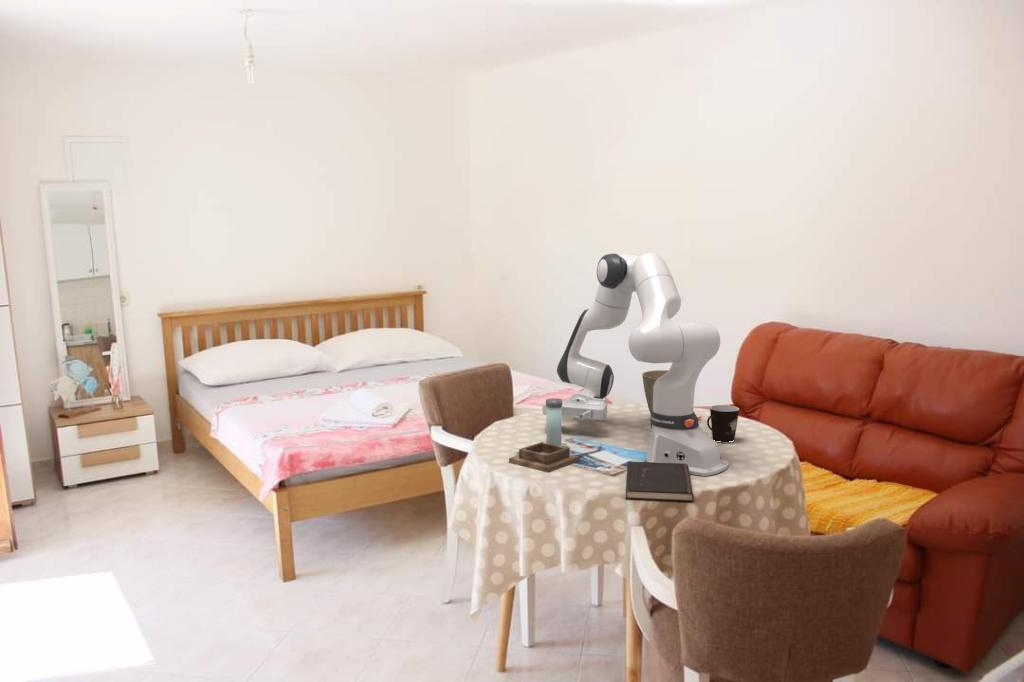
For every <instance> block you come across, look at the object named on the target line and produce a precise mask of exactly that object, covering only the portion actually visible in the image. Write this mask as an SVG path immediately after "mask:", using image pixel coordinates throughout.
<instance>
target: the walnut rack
mask: <svg viewBox="0 0 1024 682" xmlns="http://www.w3.org/2000/svg"><path fill="white" fill-rule="evenodd" d="M570 450H571V449H570V447H566V446H562V445H561V446H558V445H553V444H549V443H546V442H543V441H540V442H538V443H534V444H531V445H528V446H525V447H521V448H520V449H518V454H517V455H515V456H512V457H509V458H508V463H510V464H514V465H518V466H521V467H525V468H530V469H534V470H537V471H542V472H546V473H550V472H553V471H556V470H560V469H561V468H564V467H566V466H570V465H571V464H575V463H577V462H579V460H580V458H581V457H580V456H579V455H576V454H575V455H574V454H570V453H571V452H570Z"/></svg>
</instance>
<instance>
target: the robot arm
mask: <svg viewBox="0 0 1024 682" xmlns="http://www.w3.org/2000/svg"><path fill="white" fill-rule="evenodd" d="M596 278H597V281H598V282H599V284H598V288H597V291H596V295H595V298H594V302H593V303H592V305H591V306H590V308H587V309H584V310H583V311H582V313H581V314H580V316H578V320H577V322H576V324H575V326H574V328H573V330H572V334H571V335H570V338H569V340H568V343H567V344H566V347H565V349H564V351H563V354H562V356H561V358H560V360H559V361H558V364H557V367H556V373H557V375H558V377H559V379H560V381H561V382H563V383H567V384H571V385H575V386H578V387H580V388H581V389H580V390H579V391H577V392H575V393H573V394H571V396H570V397H569V398H568V399H567V400H562V417H563V418H564V417H565V418H572V419H574V420H577V421H586V420H597V421H604V420H606V419H607V416H608V399H607V396H608V395H609V394H610V392H611V390H612V388H613V385H614V380H615V376H614V372H613V369H612V368H611V366H610V364H607V363H604V362H601V361H599V360H595V359H592V358H589V357H586V356H583V355H581V354H580V350H581V348H582V346H583V342H584V341H585V338H586V336H587V335H588V332H591V331H601V330H602V331H603V330H604V331H605V330H611V329H615V328H617V327H619V326H620V325H623V323H624V322H625V321H626V318H627V316H628V314H629V311H630V306H631V301H632V295H633V293H634V292H636V295H637V298H638V301H639V305H640V308H641V319H640V322H639V323H638V325H636V326H635V327H634V328H633V329H632V331H631V333H630V334H629V336H628V350H629V352H630V354H631V356H632V357H633V359H635V361H637V362H642V363H649V364H666V363H667V364H668V363H669V364H670V363H671V366H670V368H669V369H668V370H669V371H668V372H667V373H666V374H664V375H663V376H661V377H660V378H658V379H657V380H656V382H655V384H654V386H653V410H652V411H651V414H650V428H651V431H650V433H651V434H650V441H649V447H648V451H647V453H646V457H645V462H656V463H682V464H687V465H688V468H689V474H690V475H694V476H695V475H696V476H701V477H702V476H703V477H707V476H712V475H713V476H715V475H716V474H719V473H722V472H724V471H725V470H727V469H728V467H729V462H728V461H727V460H724V459H721V454H720V448H719V443H718V442H715V441H714V440H713V438H712V437H711V436H710V435H709V434H707V432H705V430H703V428H701V427H700V423H699V422H700V421H702V420H703V419H702V418H703V416H702V415H700V416H697V414H696V413H695V410H694V404H695V403H694V401H695V390H696V389H695V388H696V384H697V381H698V379H699V376H700V374H701V371H702V370H703V368H704V367H705V366H706V365H707V363H708V362H710V360H711V359H713V358H714V357H715V356H716V355H717V354H718V352H719V350H720V347H721V336H720V333H719V331H718V329H717V328H716V327H715V325H714V324H711V323H707V322H701V321H696V320H695V321H671V320H670V319H672V318H674V316H676V315H677V313H678V312H679V311H680V309H681V306H682V305H681V304H682V299H681V296H680V293H679V292H678V291H679V290H678V289H677V285H676V283H675V280H674V277H673V275H672V273H671V270H670V268H669V266H668V265H667V264H666V261H665V260H664V259H663V258H662V257H661V256H660V255H659V254H658V253H654V252H645V253H642V254H640V255H639V254H633V253H620V254H619V253H618V254H617V253H608V254H604V255H603V256H602V257H600V259H599V261H598V262H597V266H596ZM542 414H543V415H544V416H546V415H547V406H546V401H545V402H543V404H542Z"/></svg>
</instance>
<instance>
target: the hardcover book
mask: <svg viewBox="0 0 1024 682" xmlns="http://www.w3.org/2000/svg"><path fill="white" fill-rule="evenodd" d="M625 500H636V501H637V500H638V501H639V500H640V501H657V502H658V501H661V502H662V501H663V502H679V503H681V502H683V503H691V502H692V501H693V500H694V493H693V487H692V479H691V474H689V468H688V465H687V464H682V463H656V462H647V461H627V465H626V480H625Z"/></svg>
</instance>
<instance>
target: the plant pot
mask: <svg viewBox="0 0 1024 682" xmlns="http://www.w3.org/2000/svg"><path fill="white" fill-rule="evenodd" d="M668 371H669V369H667V370H666V369H659V370H658V369H657V370H648V371H644V372H643V373H641V374H642V382H643V390H644V394H645V399H646V404H647V407H648V411H649V414H650V415H651V411H652V410H653V386H654V384H655V382H656V380H657V379H658V378H660V377H661V376H663V375H664V374H666V373H667V372H668Z"/></svg>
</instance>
